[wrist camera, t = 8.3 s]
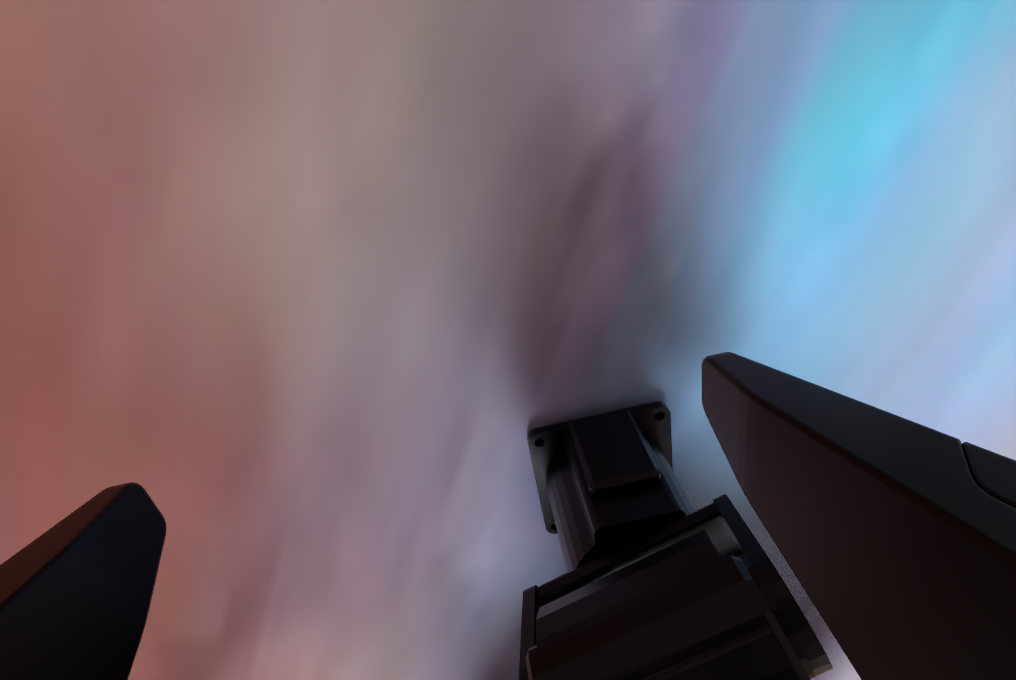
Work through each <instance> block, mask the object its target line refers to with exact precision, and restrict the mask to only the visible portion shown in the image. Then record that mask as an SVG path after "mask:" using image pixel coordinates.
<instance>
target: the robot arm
mask: <svg viewBox="0 0 1016 680" xmlns="http://www.w3.org/2000/svg"><path fill="white" fill-rule="evenodd" d="M702 403H703V408H704V411H705V414H706V416H707V418H708V420H709V422H710V424H711V426H712V428H713V430H714V432H715V435H716V437H717V439H718V441H719V443H720V445H721V447H722V449H723V451H724V453H725V455H726V458H727V460H728V462H729V464H730V466H731V468H732V470H733V472H734V474H735V476H736V478H737V480H738V482H739V484H740V486H741V488H742V490H743V492H744V494H745V496H746V497H747V499H748V501H749V502H750V504H751V506H752V507H753V509H754V510H755V512H756V514H757V515H758V517H759V518H760V520H761V522H762V523H763V525H764V526H765V528H766V529H767V531H768V533H769V534H770V536H771V537H772V539H773V540H774V542H775V544H776V545H777V547H778V548H779V550H780V552H781V553H782V555H783V556H784V558H785V559H786V561H787V563H788V564H789V566H790V567H791V569H792V571H793V572H794V574H795V575H796V577H797V578H798V580H799V582H800V583H801V585H802V586H803V588H804V589H805V591H806V593H807V594H808V596H809V597H810V599H811V601H812V602H813V604H814V605H815V607H816V608H817V610H818V612H819V613H820V615H821V616H822V618H823V620H824V621H825V623H826V624H827V626H828V627H829V629H830V631H831V632H832V634H833V635H834V637H835V638H836V640H837V642H838V643H839V645H840V646H841V648H842V650H843V651H844V653H845V654H846V656H847V657H848V659H849V661H850V662H851V664H852V665H853V667H854V669H855V670H856V672H857V673H858V675H859V676H860V678H861V680H1016V460H1013V459H1010V458H1007V457H1005V456H1002V455H999V454H996V453H994V452H991V451H989V450H986V449H983V448H981V447H978V446H976V445H973V444H970V443H968V442H964V443H962V444H961V441H960V440H959V439H957V438H954V437H952V436H949V435H946V434H944V433H941V432H939V431H936V430H933V429H931V428H928V427H925V426H923V425H920V424H918V423H915V422H912V421H910V420H907V419H904V418H902V417H899V416H897V415H894V414H891V413H889V412H886V411H884V410H881V409H878V408H876V407H873V406H870V405H868V404H865V403H863V402H860V401H857V400H855V399H852V398H849V397H847V396H844V395H842V394H839V393H836V392H834V391H831V390H829V389H826V388H823V387H821V386H818V385H815V384H813V383H810V382H808V381H805V380H802V379H800V378H797V377H794V376H792V375H789V374H787V373H784V372H781V371H779V370H776V369H773V368H771V367H768V366H766V365H763V364H760V363H758V362H755V361H753V360H750V359H747V358H745V357H742V356H739V355H737V354H734V353H731V352H725V353H720V354H716V355H711V356H707V357H705V358H704V360H703V362H702ZM657 412H661V413H660V414H659V415H655V414H656V413H657ZM538 438H543V439H542V440H541V441H535V440H536V439H538ZM528 444H529V449H530V454H531V459H532V463H533V468H534V473H535V478H536V483H537V487H538V492H539V497H540V502H541V507H542V512H543V516H544V521H545V526H546V529H547V531H548V532H549V533H553V534H555V533H558V536H559V540H560V544H561V548H562V552H563V556H564V560H565V564H566V568H567V572H568V573H566V574H564V575H562V576H560V577H557V578H555V579H553V580H551V581H549V582H547V583H545V584H543V585H541V586H539V587H538V586H536V585H535V586H533V587H531V588H529V589H527V590H524V591H523V608H522V624H521V647H520V668H519V680H810V678H813V677H815V676H817V675H819V674H822V673H824V672H826V671H829V670H831V669H833V667H832V665H831V663H830V661H829V659H828V657H827V655H826V653H825V651H824V649H823V648H822V646H821V644H820V642H819V640H818V639H817V637H816V635H815V633H814V632H813V630H812V628H811V626H810V625H809V623H808V621H807V619H806V618H805V616H804V614H803V613H802V611H801V609H800V607H799V606H798V604H797V602H796V601H795V599H794V597H793V596H792V594H791V593H790V591H789V589H788V588H787V586H786V584H785V583H784V581H783V579H782V578H781V576H780V575H779V573H778V572H777V570H776V568H775V567H774V565H773V564H772V562H771V561H770V559H769V558H768V556H767V555H766V553H765V552H764V550H763V549H762V547H761V546H760V544H759V543H758V541H757V540H756V538H755V537H754V535H753V534H752V532H751V531H750V529H749V528H748V526H747V525H746V523H745V522H744V521H743V519H742V518H741V516H740V515H739V513H738V512H737V510H736V509H735V507H734V506H733V504H732V503H731V501H730V500H729V498H728V497H727V495H726V494H724V495H722V496H720V497H718V498H716V499H714V500H713V502H714V503H712V504H710V505H708V506H705V507H703V508H701V509H699V510H697V511H694V509H693V507H692V505H691V504H690V502H689V500H688V498H687V496H686V494H685V493H684V491H683V489H682V487H681V485H680V483H679V481H678V480H677V478H676V476H675V474H674V472H673V468H672V443H671V418H670V411H669V409H668V408H667V406H666V405H665V404H664V403H662V402H654V403H650V404H645V405H641V406H636V407H632V408H627V409H622V410H618V411H613V412H609V413H604V414H600V415H595V416H591V417H586V418H581V419H577V420H572V421H568V422H563V423H559V424H554V425H550V426H545V427H540V428H536V429H534V430H532V431H531V432H529V434H528ZM554 523H555V524H554ZM165 536H166V522H165V519H164V517H163V515H162V514H161V512H160V511H159V509H158V508H157V507H156V505H155V504H154V502H153V501H152V499H151V498H150V496H149V495H148V494H147V492H146V491H145V489H144V488H143V487H142V486H141V485H139V484H138V483H134V482H130V483H126V484H121V485H117V486H112V487H109V488H106V489H105V490H103V491H102V492H100V493H99V494H97V495H96V496H95V497H93V498H92V499H91V500H89V501H88V502H86V503H85V504H84V505H82V506H81V507H80V508H78V509H77V510H75V511H74V512H73V513H71V514H70V515H69V516H67V517H66V518H64V519H63V520H62V521H60V522H59V523H58V524H56V525H55V526H53V527H52V528H51V529H49V530H48V531H47V532H45V533H44V534H42V535H41V536H40V537H38V538H37V539H36V540H34V541H33V542H31V543H30V544H29V545H27V546H26V547H25V548H23V549H22V550H20V551H19V552H18V553H16V554H15V555H14V556H12V557H11V558H9V559H8V560H7V561H5V562H4V563H3V564H1V565H0V680H128V677H129V674H130V671H131V668H132V665H133V662H134V659H135V656H136V653H137V650H138V647H139V644H140V641H141V638H142V634H143V631H144V628H145V624H146V620H147V616H148V612H149V608H150V603H151V599H152V594H153V590H154V585H155V581H156V576H157V572H158V567H159V563H160V559H161V554H162V550H163V545H164V541H165Z"/></svg>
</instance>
